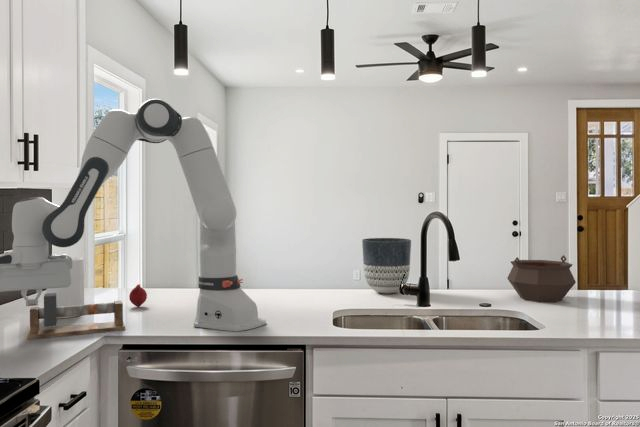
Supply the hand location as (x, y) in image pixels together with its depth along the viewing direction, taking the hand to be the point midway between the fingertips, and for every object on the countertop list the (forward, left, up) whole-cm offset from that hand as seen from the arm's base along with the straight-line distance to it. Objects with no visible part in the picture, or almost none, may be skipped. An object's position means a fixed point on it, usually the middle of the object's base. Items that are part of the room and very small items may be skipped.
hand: (31, 305), depth 152 cm
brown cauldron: (-102, -138, -9) cm, 172 cm away
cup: (+18, -20, -9) cm, 28 cm away
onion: (+10, -42, -9) cm, 44 cm away
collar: (-2, -4, -6) cm, 7 cm away
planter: (-48, -117, -9) cm, 127 cm away
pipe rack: (-6, -10, -8) cm, 14 cm away
